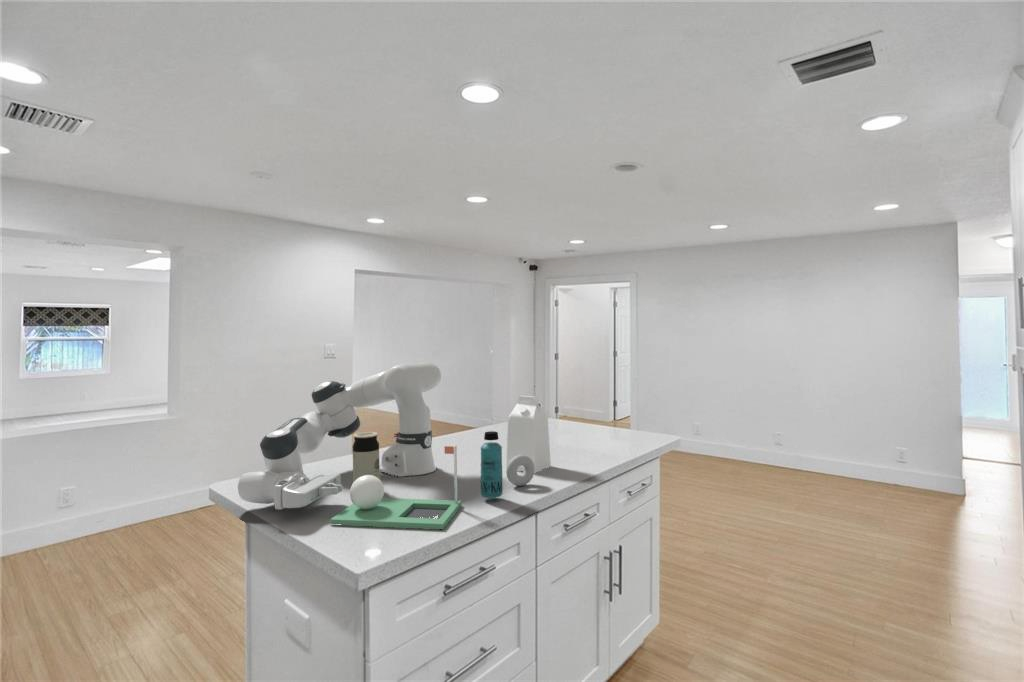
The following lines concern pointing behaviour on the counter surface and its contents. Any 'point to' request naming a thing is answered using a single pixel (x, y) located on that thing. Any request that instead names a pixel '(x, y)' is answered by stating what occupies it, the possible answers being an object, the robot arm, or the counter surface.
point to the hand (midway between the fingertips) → (340, 489)
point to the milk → (528, 433)
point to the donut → (513, 466)
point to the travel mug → (365, 455)
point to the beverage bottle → (491, 467)
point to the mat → (404, 510)
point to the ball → (366, 492)
